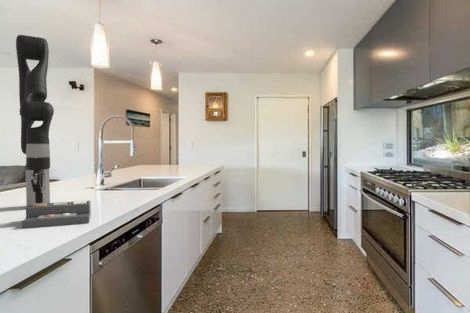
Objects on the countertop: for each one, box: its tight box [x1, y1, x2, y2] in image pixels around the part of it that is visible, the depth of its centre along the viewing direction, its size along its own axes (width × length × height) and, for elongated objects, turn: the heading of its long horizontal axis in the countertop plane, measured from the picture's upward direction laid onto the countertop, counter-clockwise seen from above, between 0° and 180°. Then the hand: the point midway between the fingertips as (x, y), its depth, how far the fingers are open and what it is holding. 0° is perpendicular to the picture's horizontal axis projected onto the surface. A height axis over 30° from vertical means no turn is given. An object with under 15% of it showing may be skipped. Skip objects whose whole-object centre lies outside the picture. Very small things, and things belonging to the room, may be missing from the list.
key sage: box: [52, 201, 69, 206], centre depth 122 cm, size 5×5×2 cm
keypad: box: [22, 200, 92, 229], centre depth 120 cm, size 14×21×6 cm
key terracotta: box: [31, 203, 48, 207], centre depth 119 cm, size 5×5×2 cm
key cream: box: [73, 200, 88, 205], centre depth 124 cm, size 5×5×2 cm
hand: (39, 202), depth 119 cm, fingers closed
